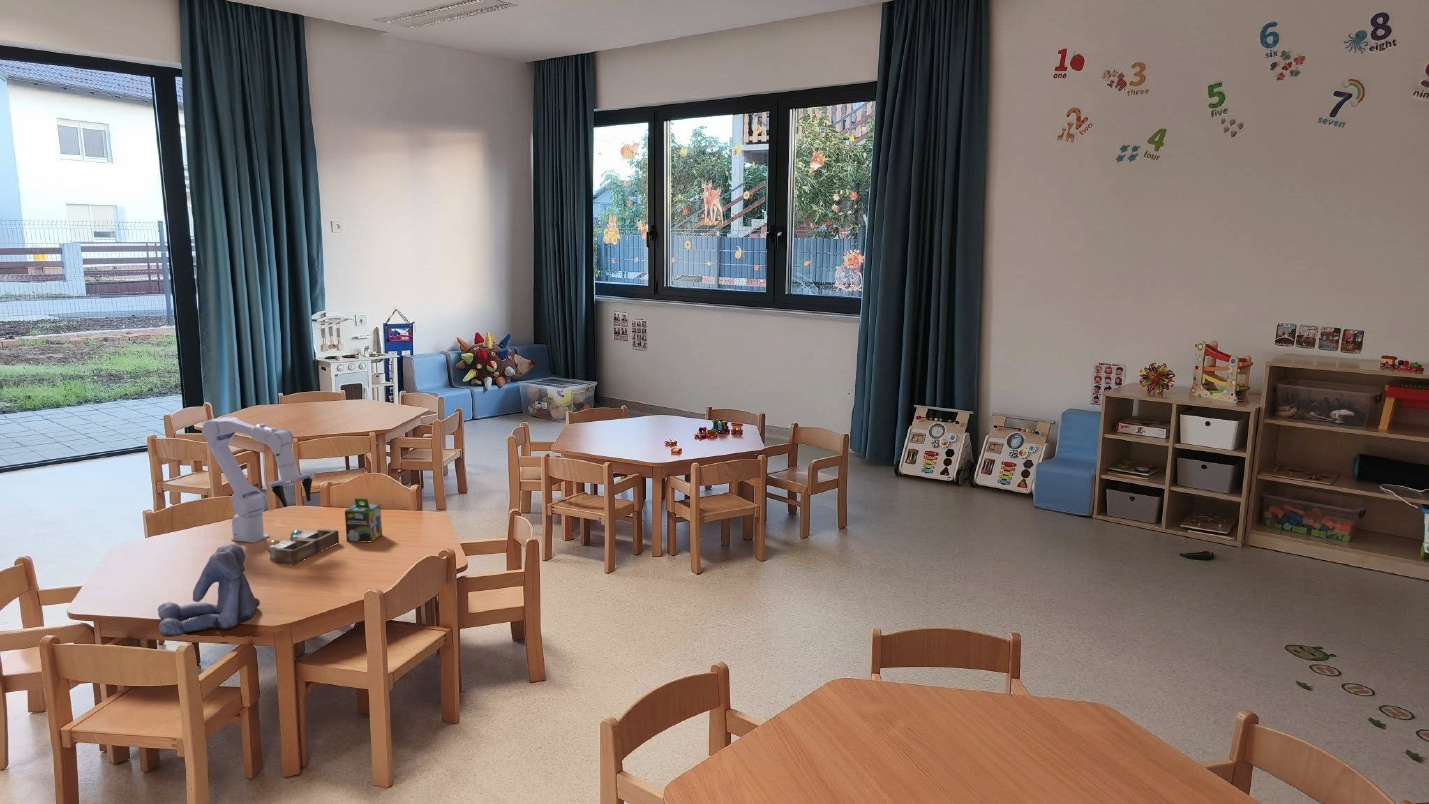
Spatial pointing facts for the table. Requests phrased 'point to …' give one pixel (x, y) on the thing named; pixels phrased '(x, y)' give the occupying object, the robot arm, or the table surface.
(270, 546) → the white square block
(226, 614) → the elephant
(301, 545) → the grey brown divided tray
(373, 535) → the chalk box
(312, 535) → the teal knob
